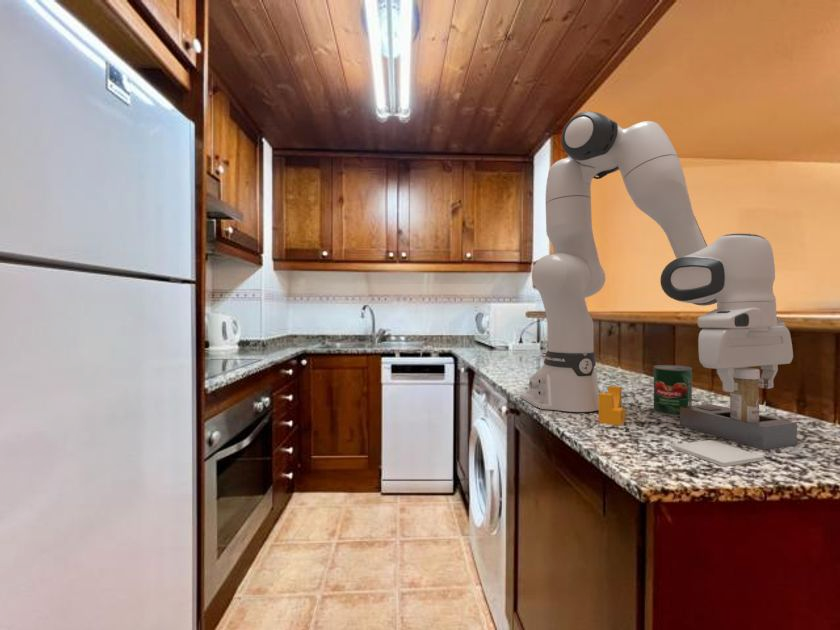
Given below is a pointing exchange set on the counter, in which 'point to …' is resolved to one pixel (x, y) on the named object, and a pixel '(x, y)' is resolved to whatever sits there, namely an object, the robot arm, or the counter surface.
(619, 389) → the orange stepped block
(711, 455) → the plate
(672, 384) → the canned tomato
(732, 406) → the sprinkles bottle
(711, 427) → the grey open box
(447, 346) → the counter surface
